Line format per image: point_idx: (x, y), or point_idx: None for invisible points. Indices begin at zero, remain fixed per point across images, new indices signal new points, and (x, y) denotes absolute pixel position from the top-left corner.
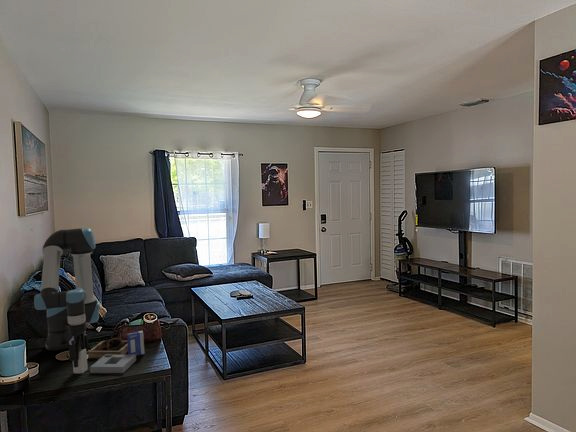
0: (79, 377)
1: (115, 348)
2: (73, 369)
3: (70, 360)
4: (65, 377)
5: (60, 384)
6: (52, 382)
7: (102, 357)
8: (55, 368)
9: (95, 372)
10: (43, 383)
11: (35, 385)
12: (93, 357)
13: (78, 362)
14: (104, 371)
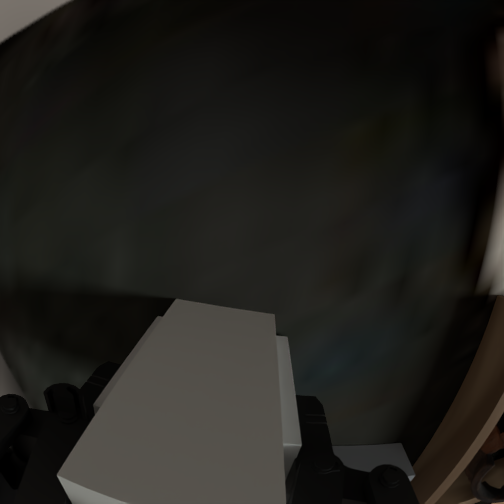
0: None
1: (471, 486)
2: (163, 316)
3: (6, 399)
4: (92, 254)
5: (3, 267)
6: (23, 182)
7: None
8: (332, 41)
9: None
10: (21, 115)
11: (10, 78)
12: (485, 344)
13: None
14: None
